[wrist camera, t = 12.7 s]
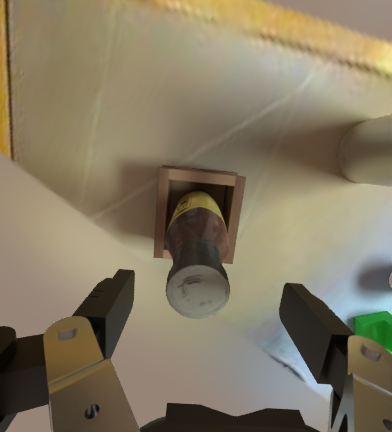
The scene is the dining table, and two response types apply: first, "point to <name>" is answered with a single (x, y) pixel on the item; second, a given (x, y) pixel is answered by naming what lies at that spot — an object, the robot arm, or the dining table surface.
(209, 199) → the sauce bottle
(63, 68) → the dining table surface
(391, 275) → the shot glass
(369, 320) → the mechanical part
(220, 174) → the bottle caddy
